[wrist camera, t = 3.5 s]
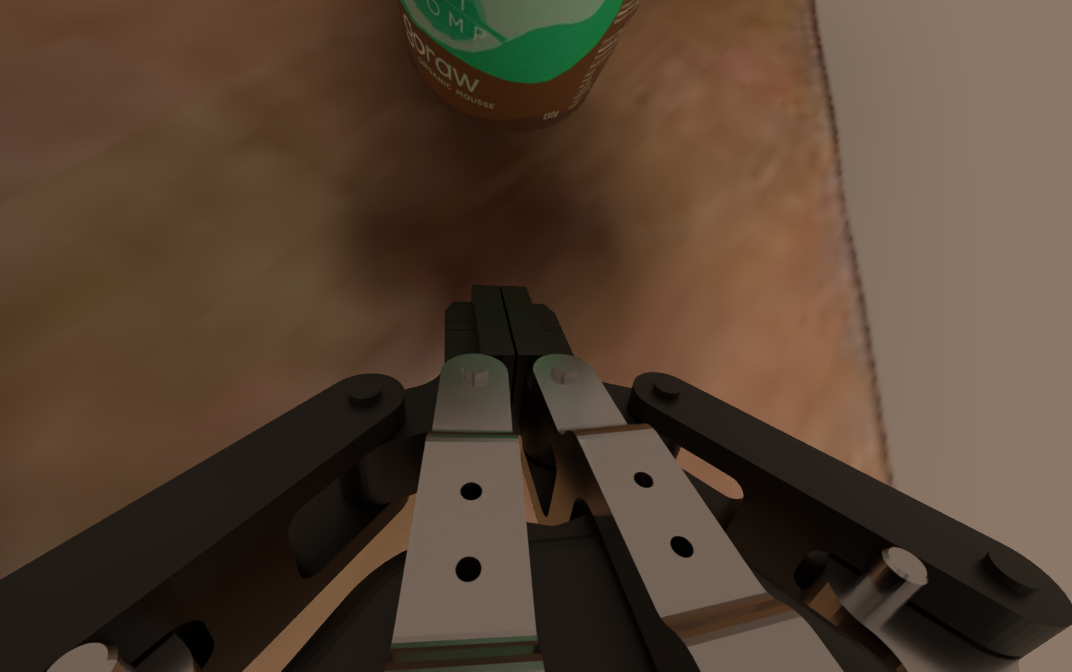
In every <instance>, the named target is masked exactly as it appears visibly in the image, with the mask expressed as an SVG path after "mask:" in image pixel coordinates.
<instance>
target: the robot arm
mask: <svg viewBox="0 0 1072 672" xmlns="http://www.w3.org/2000/svg"><path fill="white" fill-rule="evenodd" d="M518 435H521V438H522V450H521V457H520V449H519V439H518ZM681 447H683V448H684V449H686V450H688V451H689V452H691V453H693V454H694V455H696V456H698V457H699V458H701V459H703V460H704V461H706V462H708V463H709V464H711V465H712V466H714V467H716V468H717V469H719V470H721V471H722V472H724V473H726V474H727V475H729V476H731V477H732V478H734V479H735V480H736V481H737V482H738V483H739V485H740V486H741V488H742V490H743V495H744V497H743V498H741V499H732V498H729V497H726V496H725V495H723V494H721V493H720V492H718V491H717V490H715V489H713V488H712V487H710V486H709V485H707V484H706V483H704V482H702V481H701V480H699V479H698V478H696V477H694V476H693V475H691V474H690V473H688V472H687V471H685V470H683V469H682V468H681V467H680V466H679V464H678V463H677V462H676V458H677V455H678V453H679V451H680V448H681ZM521 465H522V469H523V472H524V476H525V479H526V483H527V486H528V490H529V493H530V497H531V500H532V504H533V508H534V511H535V515H536V518H537V522H538V524H535V523H529V522H526V514H525V503H524V492H523V481H522V470H521ZM415 493H417V496H416V502H415V508H414V514H413V520H412V526H411V532H410V538H409V544H408V550H406V551H404V552H402V553H400V554H398V555H396V556H395V557H393V558H391V559H390V560H388V561H386V562H385V563H383V564H382V565H381V566H379V567H378V568H377V569H375V570H374V571H373V572H372V573H370V574H369V575H368V576H367V577H366V578H365V579H364V580H362V581H361V582H360V583H359V584H358V585H357V586H356V587H355V588H354V589H353V590H352V591H351V592H350V593H349V594H348V595H347V597H346V598H345V599H344V600H343V601H342V602H341V603H340V605H339V606H338V607H337V608H336V609H335V610H334V611H333V613H332V614H331V615H330V616H329V617H328V618H327V620H326V621H325V622H324V623H323V624H322V625H321V626H320V628H319V629H318V630H317V631H316V632H315V633H314V634H313V636H312V637H311V638H310V639H309V640H308V641H307V643H306V644H305V645H304V646H303V647H302V648H301V649H300V651H299V652H298V653H297V654H296V655H295V656H294V658H293V659H292V660H291V661H290V662H289V663H288V664H287V666H286V667H285V668H284V669H283V670H282V671H281V672H1019V666H1018V662H1019V660H1020V659H1021V658H1022V657H1024V656H1025V655H1027V654H1028V653H1030V652H1031V651H1032V650H1034V649H1036V648H1037V647H1039V646H1040V645H1042V644H1043V643H1045V642H1046V641H1048V640H1049V639H1051V638H1052V637H1054V636H1055V635H1057V634H1058V633H1060V632H1061V631H1063V630H1064V629H1066V628H1067V627H1069V626H1070V625H1072V604H1071V602H1070V600H1069V599H1068V597H1067V596H1066V594H1065V593H1064V592H1063V590H1062V589H1061V588H1060V587H1059V586H1058V585H1057V584H1056V583H1055V582H1054V581H1053V580H1052V579H1051V578H1050V577H1049V576H1048V575H1047V574H1046V573H1045V572H1043V571H1042V570H1041V569H1040V568H1039V567H1037V566H1036V565H1035V564H1034V563H1032V562H1031V561H1030V560H1028V559H1026V558H1025V557H1024V556H1022V555H1021V554H1019V553H1017V552H1016V551H1014V550H1013V549H1011V548H1009V547H1007V546H1005V545H1004V544H1002V543H1000V542H998V541H995V540H994V539H992V538H990V537H988V536H986V535H984V534H982V533H980V532H978V531H976V530H974V529H972V528H970V527H968V526H966V525H965V524H963V523H961V522H959V521H956V520H955V519H953V518H951V517H949V516H947V515H945V514H943V513H941V512H939V511H937V510H935V509H933V508H931V507H929V506H927V505H925V504H923V503H921V502H919V501H917V500H916V499H914V498H912V497H910V496H908V495H906V494H904V493H902V492H900V491H898V490H896V489H894V488H892V487H890V486H888V485H886V484H884V483H882V482H880V481H878V480H876V479H874V478H872V477H870V476H869V475H867V474H865V473H863V472H861V471H859V470H857V469H855V468H853V467H851V466H849V465H847V464H845V463H843V462H841V461H839V460H837V459H835V458H833V457H831V456H829V455H827V454H825V453H823V452H821V451H820V450H818V449H816V448H814V447H812V446H810V445H808V444H806V443H804V442H802V441H800V440H798V439H796V438H794V437H792V436H790V435H788V434H786V433H784V432H782V431H780V430H778V429H776V428H774V427H772V426H771V425H769V424H767V423H765V422H763V421H761V420H759V419H757V418H755V417H753V416H751V415H749V414H747V413H745V412H743V411H741V410H739V409H737V408H735V407H733V406H731V405H729V404H727V403H725V402H723V401H722V400H720V399H718V398H716V397H714V396H712V395H710V394H708V393H706V392H704V391H702V390H700V389H698V388H696V387H694V386H692V385H690V384H688V383H686V382H684V381H682V380H680V379H678V378H676V377H674V376H671V375H668V374H664V373H657V372H649V373H644V374H641V375H639V376H637V377H636V378H635V380H634V383H633V386H632V388H628V387H623V386H618V385H613V384H608V383H604V382H601V381H600V379H599V377H598V376H597V374H596V372H595V371H594V369H593V368H592V367H591V366H590V365H589V364H588V363H587V362H585V361H583V360H582V359H580V358H577V357H574V355H573V353H572V351H571V348H570V346H569V344H568V342H567V340H566V337H565V335H564V333H563V331H562V328H561V326H560V325H559V322H558V320H557V317H556V315H555V313H554V312H553V311H552V310H550V309H549V308H548V307H547V306H545V305H544V304H532V302H531V299H530V296H529V294H528V291H527V288H526V287H515V286H500V287H499V286H485V285H472V292H471V302H452V304H451V305H450V306H449V307H448V308H447V309H446V310H445V364H444V365H443V367H442V370H441V374H440V375H439V376H438V377H437V378H435V379H434V380H432V381H430V382H428V383H426V384H424V385H421V386H417V387H413V388H409V389H405V390H404V388H403V386H402V385H401V383H400V382H399V381H397V380H396V379H394V378H392V377H390V376H387V375H382V374H361V375H355V376H352V377H349V378H346V379H344V380H342V381H340V382H338V383H336V384H334V385H333V386H331V387H329V388H328V389H326V390H324V391H322V392H321V393H319V394H317V395H316V396H314V397H312V398H310V399H309V400H307V401H305V402H304V403H302V404H300V405H298V406H297V407H295V408H293V409H292V410H290V411H288V412H286V413H285V414H283V415H281V416H280V417H278V418H276V419H274V420H273V421H271V422H269V423H268V424H266V425H264V426H263V427H261V428H259V429H257V430H256V431H254V432H252V433H251V434H249V435H247V436H245V437H244V438H242V439H240V440H239V441H237V442H235V443H233V444H232V445H230V446H228V447H227V448H225V449H223V450H221V451H220V452H218V453H216V454H215V455H213V456H211V457H209V458H208V459H206V460H204V461H203V462H201V463H199V464H197V465H196V466H194V467H192V468H191V469H189V470H187V471H186V472H184V473H182V474H180V475H179V476H177V477H175V478H174V479H172V480H170V481H168V482H167V483H165V484H163V485H162V486H160V487H158V488H156V489H155V490H153V491H151V492H150V493H148V494H146V495H144V496H143V497H141V498H139V499H138V500H136V501H134V502H132V503H131V504H129V505H127V506H126V507H124V508H122V509H121V510H119V511H117V512H115V513H114V514H112V515H110V516H109V517H107V518H105V519H103V520H102V521H100V522H98V523H97V524H95V525H93V526H91V527H90V528H88V529H86V530H85V531H83V532H81V533H79V534H78V535H76V536H74V537H73V538H71V539H69V540H67V541H66V542H64V543H62V544H61V545H59V546H57V547H56V548H54V549H52V550H50V551H49V552H47V553H45V554H44V555H42V556H40V557H38V558H37V559H35V560H33V561H32V562H30V563H28V564H26V565H25V566H23V567H21V568H20V569H18V570H16V571H14V572H13V573H11V574H9V575H8V576H6V577H4V578H2V579H1V580H0V672H242V671H243V670H244V669H245V668H246V667H247V666H248V665H249V664H250V663H251V662H252V661H253V660H254V659H255V658H256V657H257V656H258V655H259V654H260V653H261V652H262V651H263V650H264V649H265V648H266V647H267V646H268V645H269V644H270V643H271V642H272V641H273V640H274V639H275V638H276V637H277V636H278V635H279V634H280V633H281V632H282V631H283V630H284V629H285V628H286V627H287V626H288V625H289V624H290V623H291V621H292V620H293V619H294V618H295V617H296V616H297V615H298V614H299V613H300V612H301V611H302V610H303V609H304V608H305V607H306V606H307V605H308V604H309V603H310V602H311V601H312V600H313V599H314V598H315V597H316V596H317V595H318V594H319V593H320V592H321V591H322V590H323V589H324V588H325V587H326V586H327V585H328V584H329V583H330V582H331V581H332V580H333V579H334V578H335V577H336V576H337V575H338V574H339V573H340V572H341V571H342V570H343V569H344V568H345V567H346V566H347V565H348V564H349V563H350V562H351V561H352V560H353V559H354V558H355V557H356V555H357V554H358V553H359V552H360V551H361V550H362V549H363V548H364V547H365V546H366V545H367V544H368V543H369V542H370V541H371V540H372V539H373V538H374V537H375V536H376V535H377V534H378V533H379V532H380V531H381V530H382V529H383V528H384V527H385V526H386V525H387V524H388V523H389V522H390V521H391V520H392V519H393V518H394V517H395V516H396V515H397V514H398V513H399V512H400V511H401V510H402V508H403V507H404V506H405V504H406V503H407V501H408V498H409V495H412V494H415Z"/></svg>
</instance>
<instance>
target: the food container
mask: <svg viewBox="0 0 1072 672" xmlns="http://www.w3.org/2000/svg"><path fill="white" fill-rule="evenodd" d="M641 1H642V0H399V5H400V10H401V15H402V21H403V26H404V31H405V37H406V42H407V47H408V52H409V58H410V62H411V64H412V66H413V68H414V70H415V72H416V73H417V75H418V77H419V79H420V81H421V83H422V85H423V87H424V88H425V89H426V90H427V91H428V92H429V93H430V94H431V95H432V96H433V97H434V98H435V99H436V100H437V101H438V102H439V103H440V104H441V105H442V106H443V107H445V108H446V109H448V110H449V111H450V112H452V113H453V114H455V115H457V116H458V117H460V118H462V119H464V120H466V121H468V122H470V123H473V124H476V125H478V126H481V127H484V128H488V129H493V130H497V131H506V132H529V131H534V130H539V129H544V128H546V127H549V126H552V125H554V124H557V123H558V122H560V121H562V120H564V119H565V118H567V117H568V116H569V115H571V114H572V113H573V112H574V111H575V110H576V109H577V108H578V107H579V106H580V105H581V103H582V102H583V101H584V99H585V98H586V96H587V94H588V93H589V91H590V89H591V88H592V86H593V84H594V82H595V81H596V79H597V77H598V75H599V74H600V72H601V70H602V69H603V67H604V65H605V63H606V62H607V60H608V58H609V56H610V55H611V53H612V51H613V50H614V48H615V46H616V44H617V43H618V41H619V39H620V37H621V36H622V34H623V32H624V31H625V29H626V27H627V25H628V24H629V22H630V20H631V19H632V17H633V15H634V13H635V12H636V10H637V8H638V6H639V5H640V3H641Z"/></svg>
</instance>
